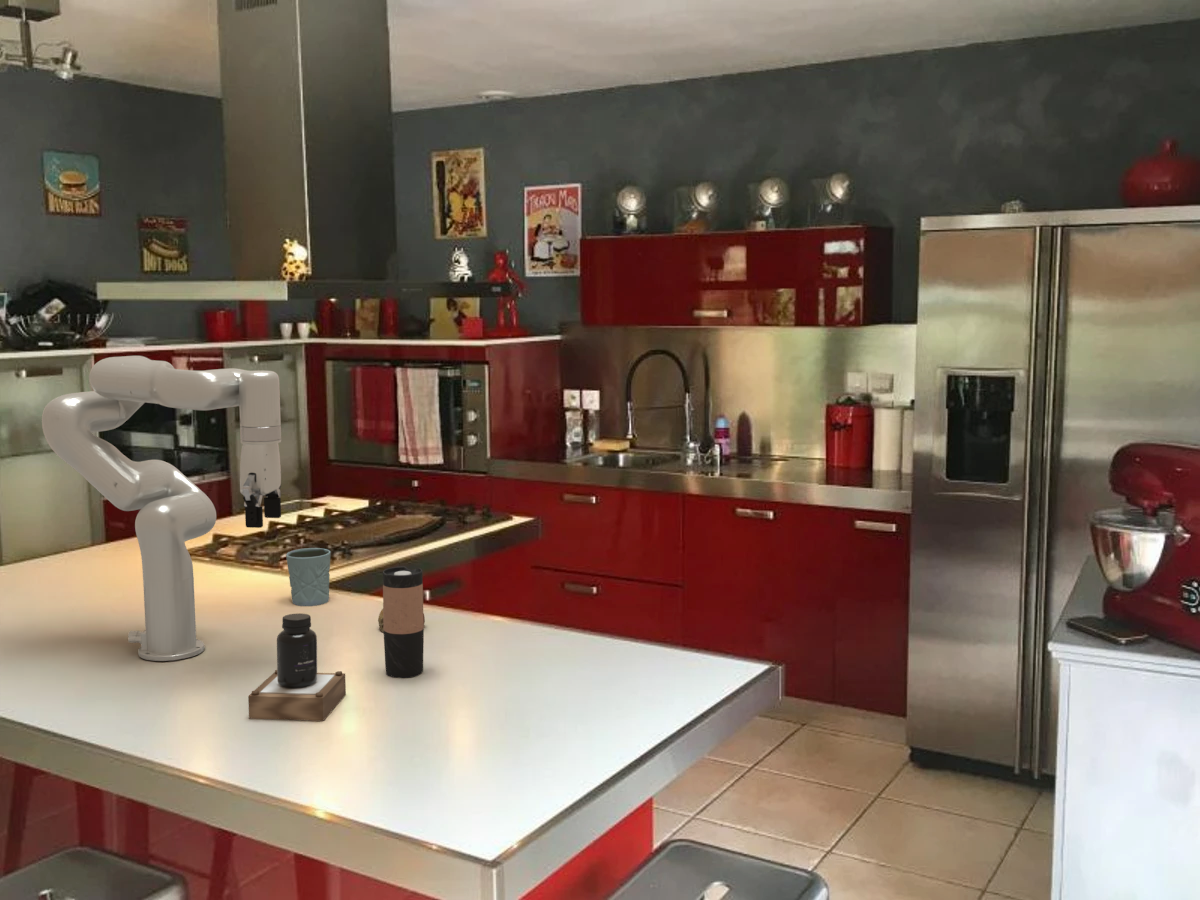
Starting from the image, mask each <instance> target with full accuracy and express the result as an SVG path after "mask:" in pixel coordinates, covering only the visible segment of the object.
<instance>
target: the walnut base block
mask: <svg viewBox="0 0 1200 900" xmlns="http://www.w3.org/2000/svg"><path fill="white" fill-rule="evenodd" d="M346 688H347V686H346V673H345V672H344V673H343V671H339V670H338V671H335V672H317V681H316V682H315V683H314V684H313V685H311V686H307V687H303V688H286V687H282V686H280V685H279V683H278V678H277V669H275V670H274V672H273V673H272V674H271V675H270V676H269V677H268V678H266V679H265V680H264V681H263V682H262V683H261V684H259V685H258V686H257V687H256V688H255V689H254V690H252V691H251V693H250V694H249V695H248V696H247V697H248V702H247V703H248V719H253V720H255V719H256V720H261V719H262V720H282V721H283V720H285V721H287V720H289V721H290V720H291V721H317V722H318V721H319V722H320V721H321V722H322V721H325V719H327V718H328V716H329V715H330V714H331V713H332V711H334V709H335V708H336V707H337V706H338V704H339V703H341V701H342V700H343V698H344V697H345V696H346V695H347V691H346V690H347V689H346Z"/></svg>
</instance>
